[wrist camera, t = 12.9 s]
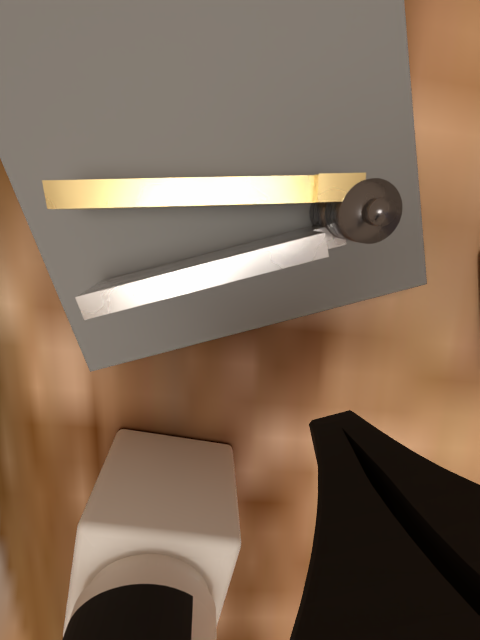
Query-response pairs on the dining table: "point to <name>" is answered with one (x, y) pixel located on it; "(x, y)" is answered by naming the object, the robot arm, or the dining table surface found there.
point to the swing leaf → (238, 196)
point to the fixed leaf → (225, 264)
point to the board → (205, 148)
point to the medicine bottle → (155, 542)
